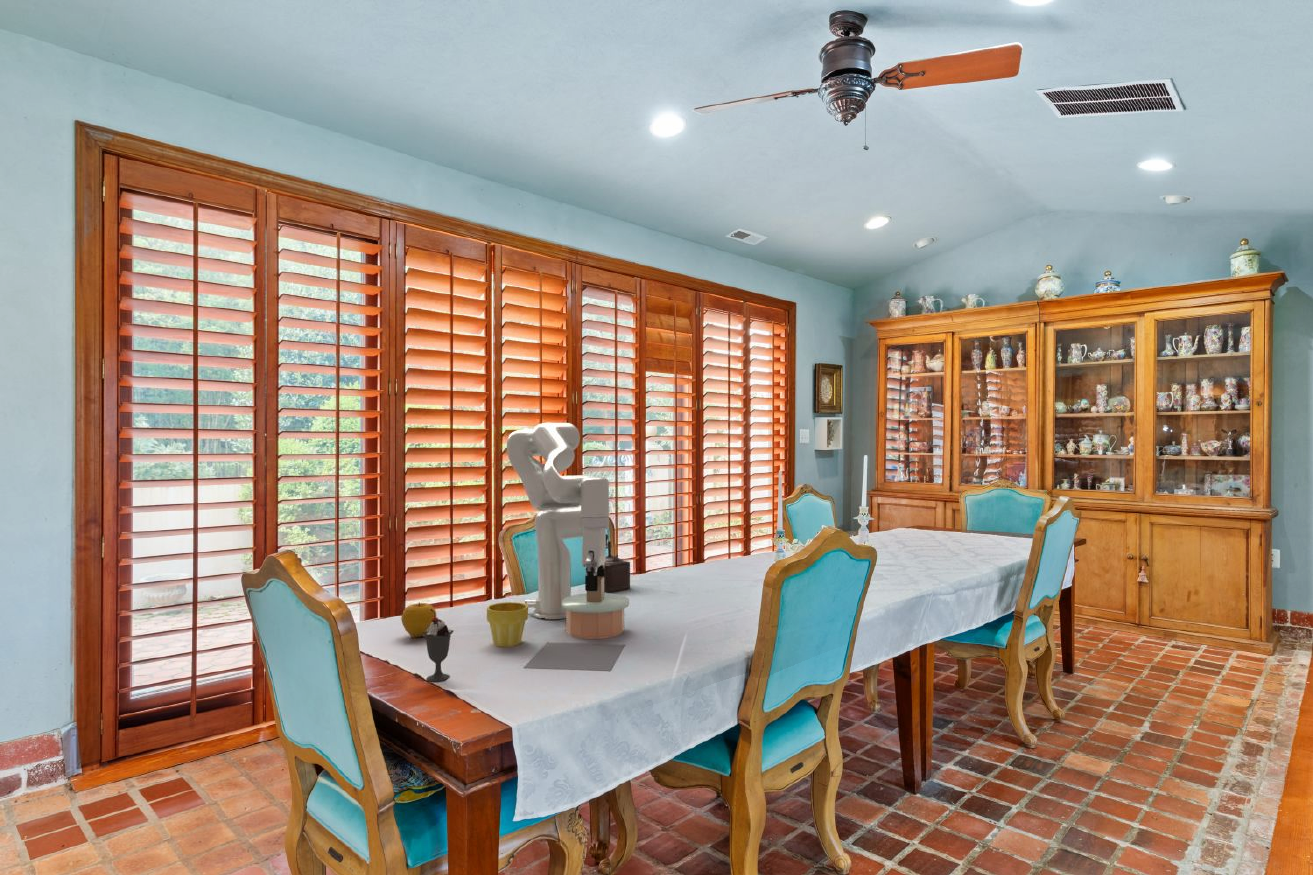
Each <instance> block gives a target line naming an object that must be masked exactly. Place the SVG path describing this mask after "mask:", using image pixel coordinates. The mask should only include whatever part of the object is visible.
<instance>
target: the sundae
mask: <svg viewBox="0 0 1313 875" xmlns="http://www.w3.org/2000/svg"><path fill="white" fill-rule="evenodd" d="M430 610H431V611H432V612H433V613H434V611H433V609H430ZM431 621H432V622H431V624H430V625H429V626H428V629H427V631H424V632H422V635H423V636H422V637H424V638H425V642H426V648H427V654H428V658H429V660H431V661H432V662H433V663H434V665H435V669H434V670H435V671H434V673H433V674H431V675H428V676H427V677H426V681H428V682H430V683H431V682H432V683H440V682H445V681H447V680H449V678H451V676H450V674H448V673H444V672H443V671H442V663H443V662H444V661H445V659H446V658H447V657H448V654H449V650H450V642H451V636H452V634H453V633H454V631H455V630H453V629H450V628H449V627H448V625H447V624H446V622H445V621H443V620H442V619H440V618H438V617H437V616H436V617H435V613H434V618H433V619H432V620H431Z"/></svg>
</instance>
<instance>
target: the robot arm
mask: <svg viewBox="0 0 1313 875" xmlns="http://www.w3.org/2000/svg"><path fill="white" fill-rule="evenodd" d="M506 440H507V441H506V453H507V458H508V460H509V462H510V465H511V467H512V468H513V469H514V471H515V472H516V474H517V475H518V477H519V479H520V480H521V483H522V485H523V488H524V491H525V493H526V495H527V497H528V501H529V504H530V505H531V507H532V509H534V510H535V511H538V513H537V514H536V516H535V518H534V530H535V535H536V541H537V553H538V554H537V557H538V558H537V561H538V562H537V563H538V566H537V567H538V570H537V571H538V574H537V575H538V576H537V577H538V578H537V579H538V584H537V585H538V594H537V595H538V597H537V598H536V599H534V600H533V599H525V601H524V604H526V605H528V609H529V608H534V610H533V612H532V615H533V616H534V617H535V618H538V619H541V618H545V619H544V620H562V619H566V610H565V609H564V608H562V600H563V599H564V598H566V597H569V596H572V579H571V578H572V573H571V572H572V565H571V563H572V562H571V560H572V558H571V557H572V556H571V553H570V549H569V548H568V547H567V545H566V544H565V542H564V540H567V539H568V540H569V539H577V538H578V539H579V538H582V546H581V566H582V567H583V568H585V574H584V580H585V581H584V584H585V586H584V588H585V589H584V590H585V591H586V592H587V591H597V590H598V577H604V583H605V569H602V568H604V567H605V565H604V562H605V559H606V555H607V549H606V547H607V546H606V534H607V533H606V530H609V529H610V482H609V480H608V479H607V477H603V476H596V475H594V474H593V475H591V474H579V475H578V474H576V475H574V474H573V475H561V474H560V473H562V472H564V471H565V470H567V469H568V468H570V466H572V464H573V463H574V460H575V450H576V449H577V448H578V446H579V444H580V440H581V436H580V431H579V429H578V428H577V427H576V426H575V425H574V424H572V423H571V422H543V423H539V424H537V425H536V426H535V427H534V428H533V429H531V428H528V429H517V430H515V431H513V432H511V433H510V434H509V435H508V437H507V439H506ZM535 457H542V459H543V460H544V461H545V463H544V464H543V463H542V462H540V461H539V460H537V459H536V458H535Z"/></svg>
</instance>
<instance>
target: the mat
mask: <svg viewBox="0 0 1313 875" xmlns="http://www.w3.org/2000/svg"><path fill="white" fill-rule="evenodd" d="M625 646H626V645H625V644H616V643H615V644H614V643H584V642H583V643H582V642H579V643H578V642H550V641H547V642H546V643H544V645H543V646H542V647H541V648H540V649H539V650H538V651H537V653H536V654H535V655H534V656H533V657H532V658H530V660H529V661H528V662H527V663H526V665H524V666H523V669H537V670H538V669H540V670H541V669H542V670H561V671H563V670H565V671H566V670H567V671H568V670H569V671H592V672H593V671H594V672H595V671H598V672H612V669H613V668H614V666H615V664H616V663H617V661H618V659H619V657H620V655H621V653H622V651H623V650H624V648H625Z"/></svg>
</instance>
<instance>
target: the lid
mask: <svg viewBox="0 0 1313 875" xmlns="http://www.w3.org/2000/svg"><path fill="white" fill-rule="evenodd" d="M629 606H630V598H629V597H627V596H625V595H622V594H617V593H612V592H611V593H606V592H604V577H598V590H597V591H586V593H580V594H575V595H571V596H569V597H566V598H564V599H563V600H562V608H564V609H565V610H568V611H572V612H579V613H605V612H613V611H618V610H622V609H624V610H625V609H626V608H628V607H629Z"/></svg>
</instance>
